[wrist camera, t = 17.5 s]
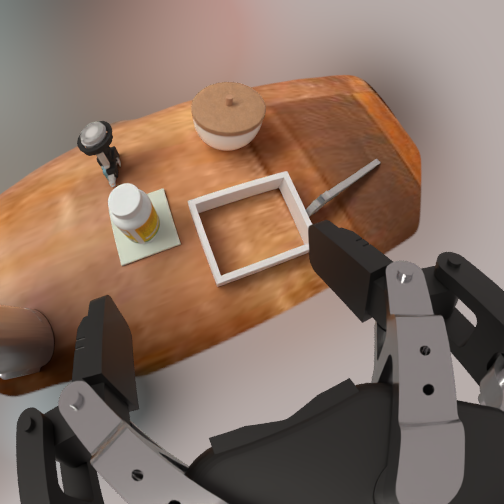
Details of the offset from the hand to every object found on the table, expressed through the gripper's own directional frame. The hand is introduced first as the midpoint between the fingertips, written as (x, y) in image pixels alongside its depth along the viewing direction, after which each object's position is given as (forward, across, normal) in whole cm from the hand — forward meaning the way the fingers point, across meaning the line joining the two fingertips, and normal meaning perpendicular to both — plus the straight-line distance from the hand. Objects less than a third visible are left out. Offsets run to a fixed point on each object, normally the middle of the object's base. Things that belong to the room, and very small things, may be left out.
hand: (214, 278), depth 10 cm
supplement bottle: (+29, +6, +9) cm, 31 cm away
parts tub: (+25, -9, +13) cm, 30 cm away
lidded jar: (+37, -11, +2) cm, 39 cm away
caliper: (+27, -26, +12) cm, 39 cm away
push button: (+37, +9, +2) cm, 38 cm away
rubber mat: (+29, +6, +9) cm, 31 cm away
